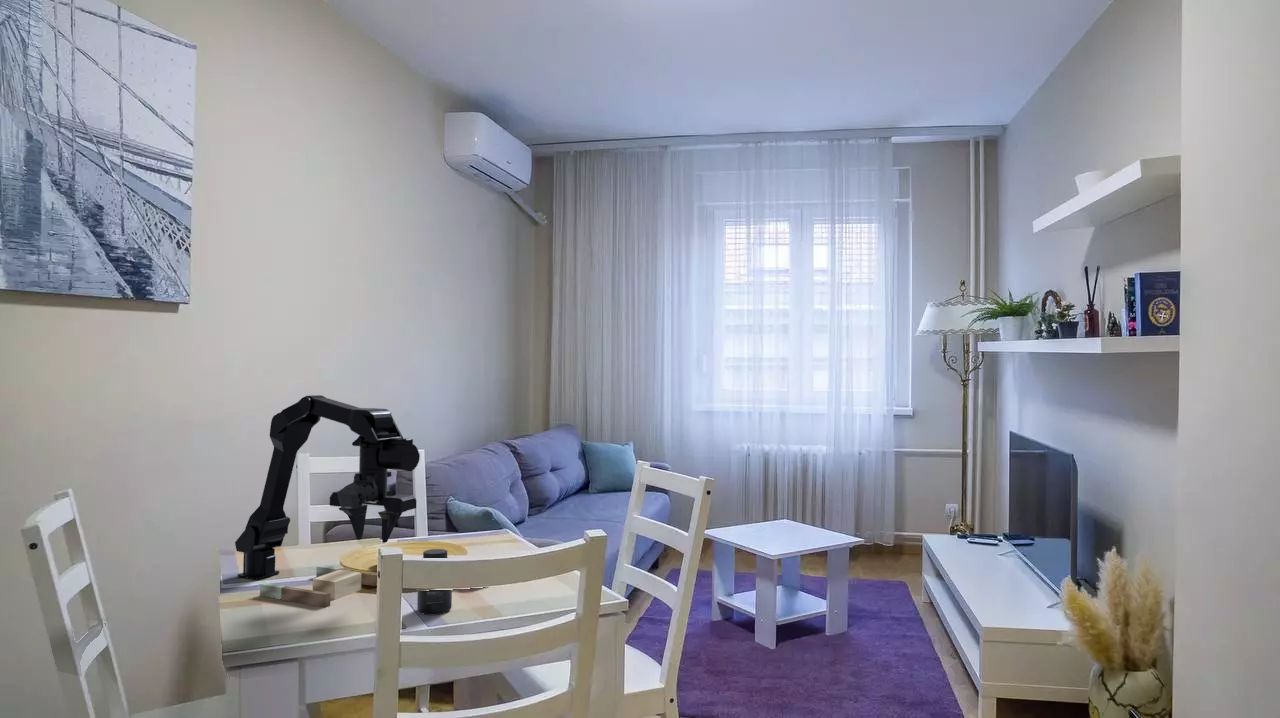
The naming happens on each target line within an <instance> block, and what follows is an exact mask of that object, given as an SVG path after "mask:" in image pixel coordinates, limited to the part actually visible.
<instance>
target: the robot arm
mask: <svg viewBox="0 0 1280 718" xmlns="http://www.w3.org/2000/svg"><path fill="white" fill-rule="evenodd" d="M321 418H325V419H327V420H329V421H333V422H336V423H339V424H343V425H346V426H347V427H348V428H349V429H350V431H351V432H353V433H354V434H357V435H358V437H357V438H356V439H355V440H354V441H353V442H351V446H353V447H359V461H358V462H359V465H358V466H359V470H358V472H356V473H354V476H353V482H351V483H348V484H347V485H345V486H344V487H343V488H341V489H340V490H337V491H333V492H332V493H331V495H330V496H329V506H330V507H338V510H339V511H342V512H343V513H345V514H346V516H347V517H348V519H349V521H350V523H351V526H352V529H353V531H354V535H355V538H356V540H357V541H360V540H362V539H363V536H364V531H365V525H366V518H367V510H368V505H370V506H378V507H379V506H381V507H383V508H384V510H383V511H378V512H377V514H378V516H379V517H380V519H381V541H382V544H386V543H387V542H388V541H389V538H390V536H391V535H392V532H393V530H394V528H395V526H396V524H397V522H398V521H399V519H400V517H401V515H402V514H403V513H405V512H407V511H412V510H415V509H417V498H416V497H415V495H411V494H402V493H400V494H395V495H392V490H389V489H388V478H391V477H392V471H389V470H393V471H401V472H411V471H414V470H415V469H416V468H417V466H418V464H419V462H420V459H421V458H420V455H421V454H420V452H419V450H418V447H417V446H416V445H415V444H414V439H413V438H411V437H407V438H404V436H403V435H402V432H401V430H400V429H399V427H398V424H396V422H395V420H394V418H393V415H392V412H391V410H390V409H387V408H376V407H375V408H374V407H372V408H371V407H359V406H355V405H351V404H349V403H345V402H342V401H338V400H335V399H331V398H327V397H326V396H324V395H322V394H321V395H320V394H317V395H313V394H311V395H305V396H303V397H302V398H301V399H299V400H298V401H297V402H295V403H293V404H292V405H290V406H289V405H288V407H285V408H284V409H282V410H281V411H280V412H278V413H276V414H274V415H273V416H272V418H271V422H270V428H269V439H270V440H271V443H272V446H273V451H272V454H271V458H270V462H269V467H268V470H267V475H266V479H265V484H264V487H263V492H262V495H261V500H260V504H259V506H258V507H257V508H256V509H255V510H254V512H252V514H251V515H249V517H248V521H247V523H246V525H245V528H244V530H243V532H242V533H241V534H240V536H239V537H238V538H236V541H235V542H234V545H235V549H236V551H237V552H239V553H243V564H242V567H243V568H242V569H243V570H242V572H240V573H238V574H237V575H236V577H238V578H243V579H250V580H258V581H259V580H262V579H264V578H268V577H271V576H274V575H277V574H280V570H278V569H277V570H276V554H275V552H276V551H275V548H278V547H282V545H283V541H284V538H285V536H286V535H287V534H288V533H289V531H288V530H289V525H290V523H291V518H290V517H288V516H287V515H286V512H285V510H284V505H285V501H286V499H287V494H288V490H289V486H290V482H291V478H292V474H293V470H294V467H295V462H296V458H297V454H298V451H299V450H300V449H301V448H302V447H303V446H304V444H305V443H306V442H307V441H308V439H309V436H310V433H311V431H312V429H313V427H315V426H316V425H317V424H318V423H319V422H320V421H321Z"/></svg>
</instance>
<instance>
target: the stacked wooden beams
mask: <svg viewBox="0 0 1280 718" xmlns="http://www.w3.org/2000/svg"><path fill="white" fill-rule="evenodd" d="M348 569H349V568H348ZM348 569H347V568H342V567H341V568H340V567H334V566H327V565H317V566H316V570H315V571H316V572H315V573H316V575H315V578H317V577H320V576H323V575H326V574H329V573H332V572H335V571H338V570H346V571H351V570H352V569H350V570H348ZM353 572H356V571H353ZM375 573H376V572H375ZM376 582H377V573H376V574H375V575H374V574H365V573H361V585H363V586H364V585H366V586H372V587H377V586H376ZM330 595H331V593H325V592H319V591H313V589H312V590H310V589H306V588H299V587H294V586H287V585H281V584H274V583H267V582H263V583H260V584H259V596H260V597H263V596H265V597H264V598H269V597H270V599H274V598H275V599H276V600H280V599H281V601H287V602H293V603H300V604H306V605H310V606H317V607H323V608H327V607H330V606H331V599H330Z"/></svg>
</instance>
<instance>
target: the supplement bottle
mask: <svg viewBox="0 0 1280 718" xmlns="http://www.w3.org/2000/svg"><path fill="white" fill-rule="evenodd" d="M422 554H423V555H422V556H423V557H422V559H423V558H449V557H448V550H446V549H443V548H432V549H427V550H424V551H423V553H422ZM452 594H453V589H452V590H429V591H418V590H417V595H416V596H417V597H416V598H417V601H416V602H417V603H416V604H417V606H416V607H417V608H416V609H417V611H418V613H419V614H422V613H424V614H423V615H427V614H435V615H441V614H440V613H442V614H445V613H448V612H449V611H451V609H452V604H453V603H452V602H453V601H452V598H453V597H452V596H453V595H452ZM447 611H448V612H447ZM444 612H445V613H444Z"/></svg>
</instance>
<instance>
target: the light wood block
mask: <svg viewBox="0 0 1280 718" xmlns="http://www.w3.org/2000/svg"><path fill="white" fill-rule="evenodd" d="M312 590H313V591H319V592H325V593H331V595H330V600H338V599H341V598H343V597H344V598H345V597H346V596H349V595H352V594H354V593H357V592H360V591H361V590H362V584H361V573H360V572H353V571H346V570H338V571H335V572H332V573H329V574H326V575H323V576H320V577H315V578H312Z"/></svg>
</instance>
